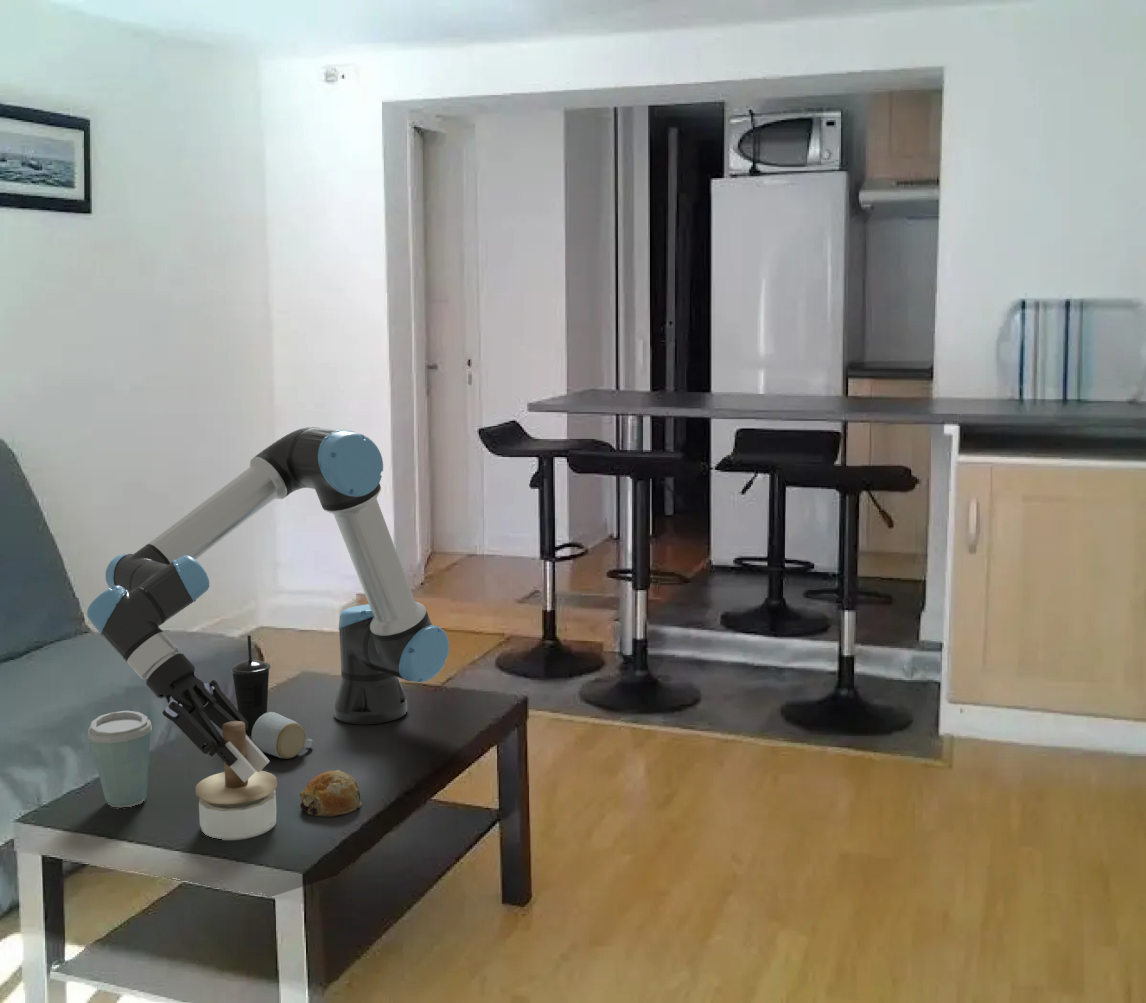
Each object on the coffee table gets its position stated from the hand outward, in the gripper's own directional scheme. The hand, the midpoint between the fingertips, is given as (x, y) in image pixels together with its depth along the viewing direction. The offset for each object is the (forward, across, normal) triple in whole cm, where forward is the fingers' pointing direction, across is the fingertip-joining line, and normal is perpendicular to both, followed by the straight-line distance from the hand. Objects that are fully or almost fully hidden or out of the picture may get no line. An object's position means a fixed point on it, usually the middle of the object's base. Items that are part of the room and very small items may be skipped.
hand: (256, 771), depth 208 cm
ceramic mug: (-2, -33, -16) cm, 37 cm away
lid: (0, 0, -5) cm, 5 cm away
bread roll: (+12, -11, -2) cm, 17 cm away
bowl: (+4, 0, -10) cm, 10 cm away
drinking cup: (-10, -42, -24) cm, 49 cm away
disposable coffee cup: (-13, -4, -27) cm, 30 cm away
